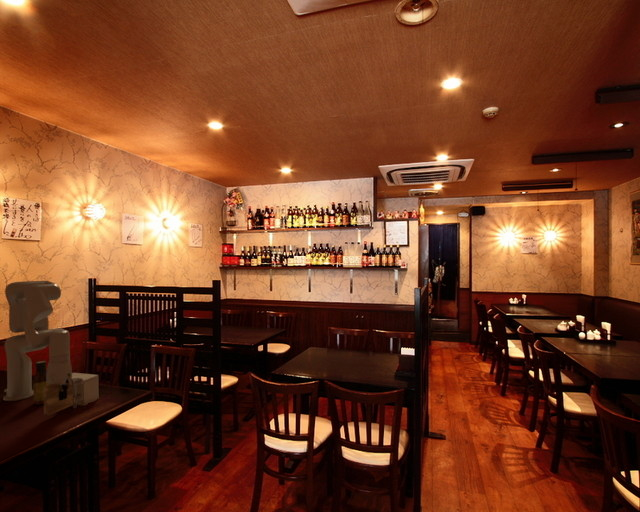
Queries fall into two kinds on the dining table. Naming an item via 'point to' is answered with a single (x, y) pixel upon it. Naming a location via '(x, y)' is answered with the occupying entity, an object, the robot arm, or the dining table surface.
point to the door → (52, 397)
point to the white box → (86, 388)
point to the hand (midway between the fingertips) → (59, 398)
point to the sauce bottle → (40, 382)
